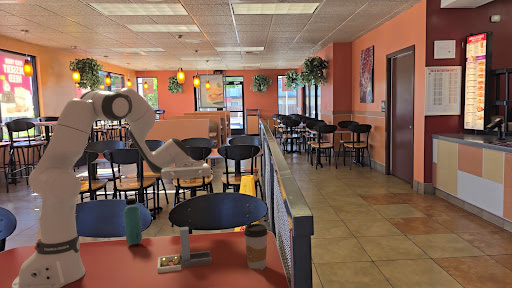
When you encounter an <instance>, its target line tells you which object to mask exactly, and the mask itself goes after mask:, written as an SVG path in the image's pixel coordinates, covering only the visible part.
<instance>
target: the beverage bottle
mask: <svg viewBox="0 0 512 288" xmlns="http://www.w3.org/2000/svg"><path fill="white" fill-rule="evenodd" d="M136 204H137V200H136V198H135V197H130V198H126V199H125V205H126V207H125V208H124V209H123V213H124V227H125V241H126V243H127V244H128V245H137V244H140V243H141V242H142V241H143V236H142V235H143V233H142V225H141V224H142V223H141V221H142V220H141V212H140V207H139V206H137V205H136Z"/></svg>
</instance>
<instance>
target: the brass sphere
mask: <svg viewBox="0 0 512 288" xmlns="http://www.w3.org/2000/svg"><path fill="white" fill-rule="evenodd" d="M172 263H173V265H174V266H175V265H181V258H180V257H175V258H174V259H173V260H172Z"/></svg>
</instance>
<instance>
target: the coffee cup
mask: <svg viewBox="0 0 512 288" xmlns="http://www.w3.org/2000/svg"><path fill="white" fill-rule="evenodd" d="M243 234H244V241H245V242H244V243H245V254H246V260H247V266H248V268H250V269H255V270H259V269H260V271H263V270H265V268H266V265H267V263H266V262H267V247H268V244H267V240H268V238H267V237H268V229H267V226H266V225H265V224H263V223H251V224H247V225H245V229H244V230H243Z"/></svg>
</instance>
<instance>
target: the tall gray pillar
mask: <svg viewBox="0 0 512 288" xmlns="http://www.w3.org/2000/svg"><path fill="white" fill-rule="evenodd" d="M189 231H190V230H189V226H182V227H179V237H180V252H181V253H180V254H181V255H182V261H185V260H190V253H191V250H190V249H191V247H190V232H189Z"/></svg>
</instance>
